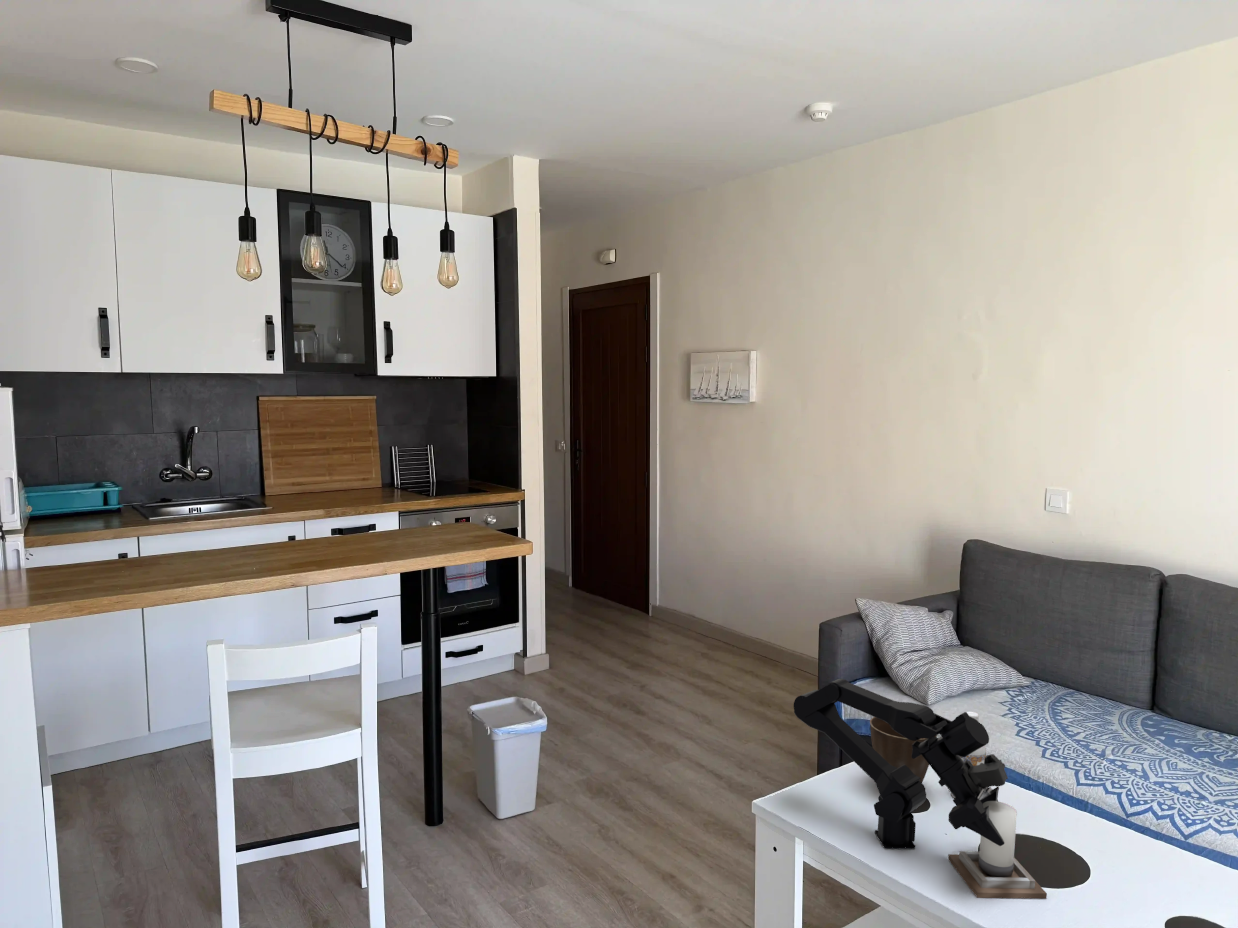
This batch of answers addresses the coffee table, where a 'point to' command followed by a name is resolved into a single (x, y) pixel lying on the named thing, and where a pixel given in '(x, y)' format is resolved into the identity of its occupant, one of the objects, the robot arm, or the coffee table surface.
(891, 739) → the plant pot
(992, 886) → the walnut board
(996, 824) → the white cylinder
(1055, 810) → the coffee table surface
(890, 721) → the robot arm
